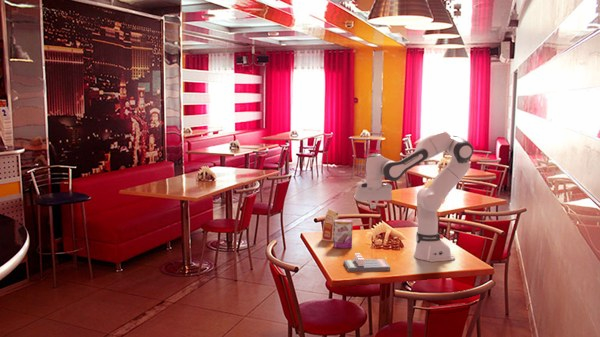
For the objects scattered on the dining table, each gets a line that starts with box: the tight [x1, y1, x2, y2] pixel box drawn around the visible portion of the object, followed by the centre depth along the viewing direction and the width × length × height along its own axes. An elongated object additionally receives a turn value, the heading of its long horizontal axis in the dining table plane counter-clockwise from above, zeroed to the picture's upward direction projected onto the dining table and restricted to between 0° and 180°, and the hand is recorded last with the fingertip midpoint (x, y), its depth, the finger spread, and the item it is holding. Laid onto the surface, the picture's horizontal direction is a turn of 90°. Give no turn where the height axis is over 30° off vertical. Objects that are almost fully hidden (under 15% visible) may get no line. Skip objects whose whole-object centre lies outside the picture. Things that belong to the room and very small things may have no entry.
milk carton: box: [321, 208, 340, 242], centre depth 338 cm, size 9×9×20 cm
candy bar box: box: [333, 219, 354, 249], centre depth 320 cm, size 11×5×16 cm, turn 84°
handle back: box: [353, 252, 362, 261], centre depth 287 cm, size 3×2×4 cm
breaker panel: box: [343, 258, 391, 273], centre depth 283 cm, size 22×14×2 cm, turn 95°
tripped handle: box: [358, 257, 365, 266], centre depth 278 cm, size 3×2×4 cm
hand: (373, 208), depth 293 cm, fingers closed
